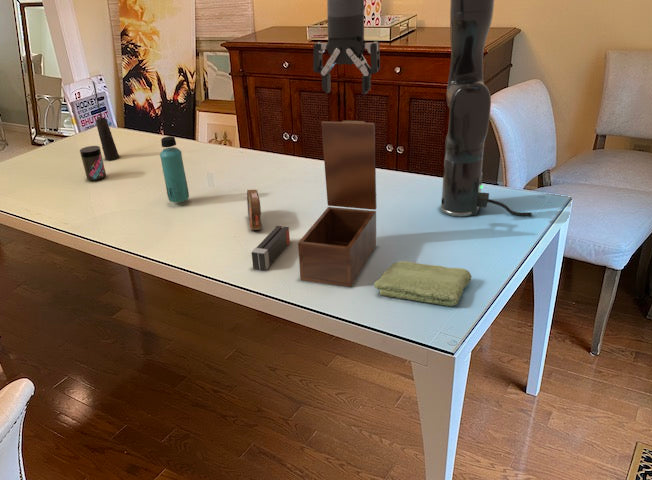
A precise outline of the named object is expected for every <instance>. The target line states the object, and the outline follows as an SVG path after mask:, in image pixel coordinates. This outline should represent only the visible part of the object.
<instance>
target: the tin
mask: <svg viewBox="0 0 652 480" xmlns="http://www.w3.org/2000/svg"><path fill="white" fill-rule="evenodd" d="M258 192H259V191H258V189H247V190H246V201H247V202H246V203H247V216H248V222H249V227H250V231H259V230H261V229H262V222H261V221H262V220H261V214H262V209H261V207H262V206H261V201H260V200H261V199H260V197H259V193H258Z"/></svg>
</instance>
